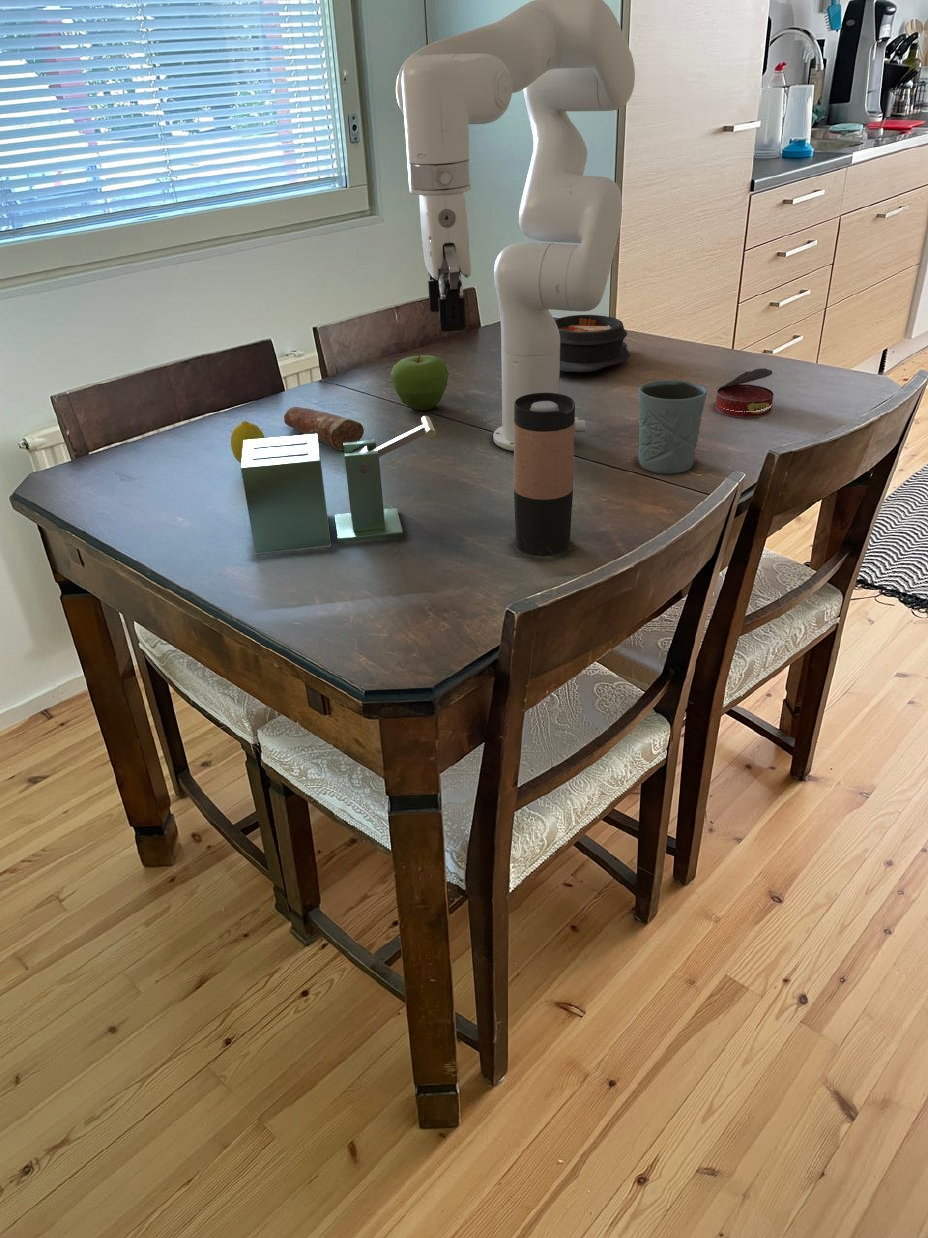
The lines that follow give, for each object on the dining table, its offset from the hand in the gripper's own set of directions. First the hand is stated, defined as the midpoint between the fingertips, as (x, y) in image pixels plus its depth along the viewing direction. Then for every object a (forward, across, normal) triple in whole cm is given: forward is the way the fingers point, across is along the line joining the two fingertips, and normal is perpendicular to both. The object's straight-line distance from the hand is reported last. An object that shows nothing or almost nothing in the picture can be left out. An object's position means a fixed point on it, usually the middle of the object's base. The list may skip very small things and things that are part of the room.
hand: (447, 319), depth 122 cm
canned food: (+29, +29, -57) cm, 70 cm away
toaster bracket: (+27, -6, +14) cm, 30 cm away
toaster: (+26, -6, +24) cm, 36 cm away
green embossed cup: (+28, +8, -35) cm, 45 cm away
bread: (+28, +33, +19) cm, 47 cm away
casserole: (+29, +64, -38) cm, 80 cm away
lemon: (+27, +22, +30) cm, 46 cm away
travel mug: (+27, -16, -9) cm, 33 cm away
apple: (+28, +45, 0) cm, 53 cm away
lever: (+15, -5, +9) cm, 18 cm away
